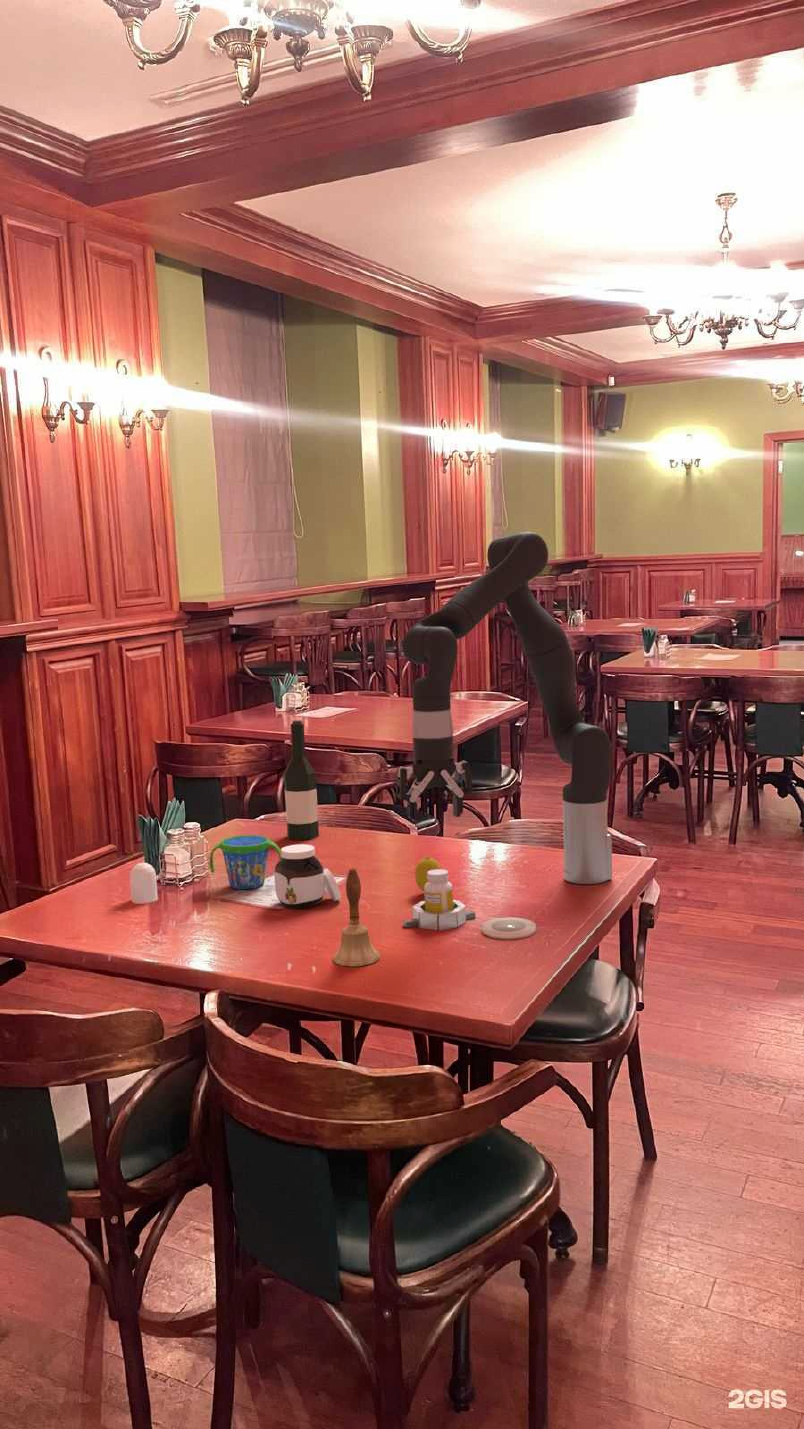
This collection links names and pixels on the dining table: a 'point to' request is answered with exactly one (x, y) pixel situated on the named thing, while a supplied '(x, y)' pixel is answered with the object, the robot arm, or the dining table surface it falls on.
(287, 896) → the spread jar
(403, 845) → the dining table surface
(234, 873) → the snack cup
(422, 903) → the collar
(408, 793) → the robot arm
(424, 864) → the lemon
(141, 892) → the white domed cylinder
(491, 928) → the plate
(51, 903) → the dining table surface
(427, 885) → the supplement bottle
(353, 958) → the hand bell
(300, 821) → the wine bottle
